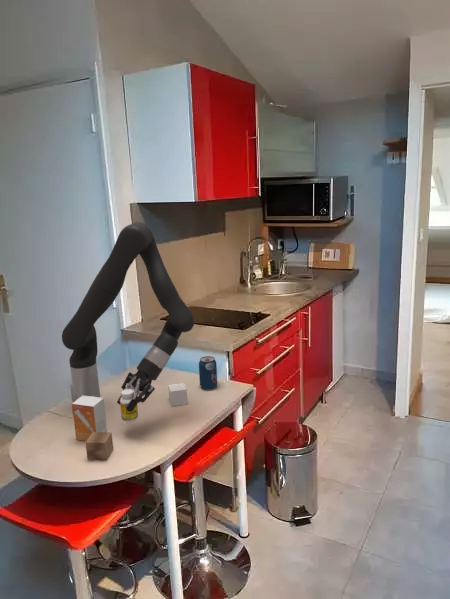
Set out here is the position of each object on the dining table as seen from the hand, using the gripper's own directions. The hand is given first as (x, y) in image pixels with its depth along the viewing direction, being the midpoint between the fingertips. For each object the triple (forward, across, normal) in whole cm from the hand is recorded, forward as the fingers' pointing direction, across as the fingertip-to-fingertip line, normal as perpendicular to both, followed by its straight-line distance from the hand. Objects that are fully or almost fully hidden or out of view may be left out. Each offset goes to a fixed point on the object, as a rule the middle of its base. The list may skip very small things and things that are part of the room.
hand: (123, 407), depth 153 cm
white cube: (-11, -9, +26) cm, 30 cm away
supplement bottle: (+2, 0, +5) cm, 5 cm away
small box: (+14, -8, +2) cm, 16 cm away
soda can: (-22, -11, +38) cm, 45 cm away
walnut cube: (+15, +4, 0) cm, 16 cm away
